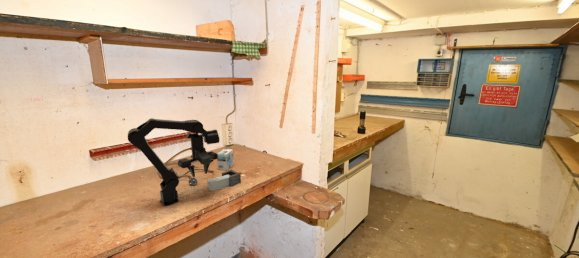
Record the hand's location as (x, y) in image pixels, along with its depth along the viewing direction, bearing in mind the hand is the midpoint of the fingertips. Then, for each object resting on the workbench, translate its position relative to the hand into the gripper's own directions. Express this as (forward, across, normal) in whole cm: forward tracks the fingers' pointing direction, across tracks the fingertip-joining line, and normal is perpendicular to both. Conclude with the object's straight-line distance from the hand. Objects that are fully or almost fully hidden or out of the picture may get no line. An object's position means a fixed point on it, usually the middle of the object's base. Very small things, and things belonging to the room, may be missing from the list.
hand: (200, 175), depth 128 cm
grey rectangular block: (+10, +11, 0) cm, 15 cm away
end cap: (+10, +18, 0) cm, 20 cm away
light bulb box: (+10, +30, +22) cm, 38 cm away
